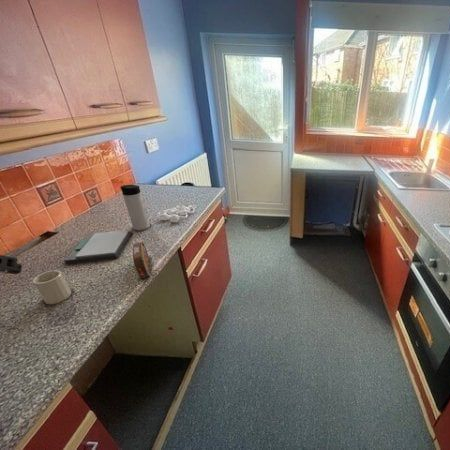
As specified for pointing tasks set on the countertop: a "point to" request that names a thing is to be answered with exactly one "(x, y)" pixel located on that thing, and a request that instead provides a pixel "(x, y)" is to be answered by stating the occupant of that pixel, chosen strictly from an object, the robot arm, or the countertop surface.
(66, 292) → the pot
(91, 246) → the scale
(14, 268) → the robot arm
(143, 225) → the travel mug
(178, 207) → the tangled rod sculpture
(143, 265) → the tin
